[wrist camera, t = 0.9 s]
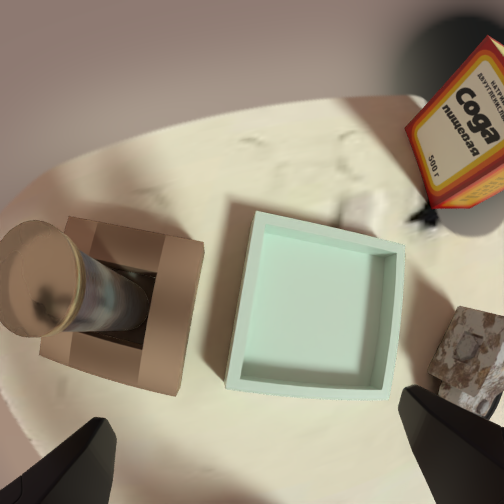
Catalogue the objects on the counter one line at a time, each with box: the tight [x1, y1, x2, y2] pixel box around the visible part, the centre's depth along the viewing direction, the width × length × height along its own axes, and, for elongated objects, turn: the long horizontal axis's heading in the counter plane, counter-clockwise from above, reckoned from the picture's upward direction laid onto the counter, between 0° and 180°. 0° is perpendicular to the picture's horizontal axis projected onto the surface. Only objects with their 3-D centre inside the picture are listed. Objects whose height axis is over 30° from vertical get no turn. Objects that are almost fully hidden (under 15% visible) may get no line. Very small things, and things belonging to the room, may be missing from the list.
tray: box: [224, 211, 405, 400], centre depth 21 cm, size 12×12×2 cm
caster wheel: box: [427, 306, 504, 420], centre depth 20 cm, size 7×11×10 cm
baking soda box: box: [405, 35, 504, 209], centre depth 20 cm, size 10×6×16 cm
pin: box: [0, 220, 149, 337], centre depth 14 cm, size 4×4×13 cm
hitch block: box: [39, 216, 205, 397], centre depth 19 cm, size 10×10×3 cm
